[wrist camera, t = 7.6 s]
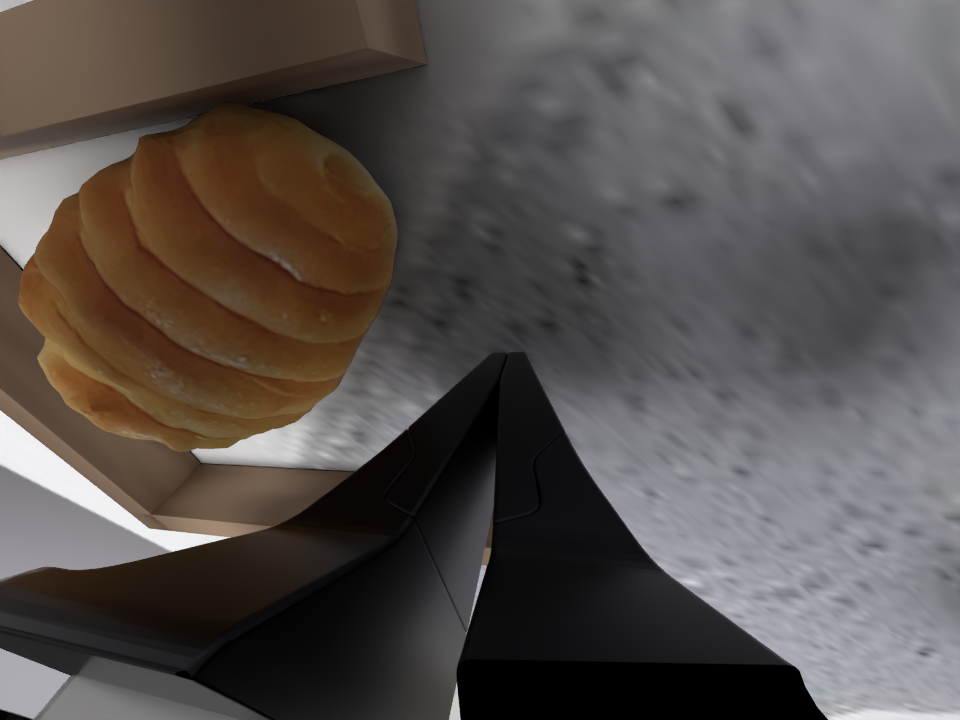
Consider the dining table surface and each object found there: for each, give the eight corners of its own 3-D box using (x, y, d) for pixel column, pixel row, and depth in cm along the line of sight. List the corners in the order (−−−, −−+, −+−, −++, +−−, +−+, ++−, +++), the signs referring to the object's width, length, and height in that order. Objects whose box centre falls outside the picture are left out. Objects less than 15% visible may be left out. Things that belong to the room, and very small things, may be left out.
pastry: (231, -16, 6) (-67, -121, 3) (475, 273, 9) (435, 366, 6) (106, 279, 11) (-66, 349, 8) (291, 414, 13) (214, 507, 10)
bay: (409, -34, 6) (329, -106, 4) (505, 499, 14) (497, 566, 12) (-146, 128, 9) (-343, 136, 7) (196, 478, 17) (149, 528, 15)
